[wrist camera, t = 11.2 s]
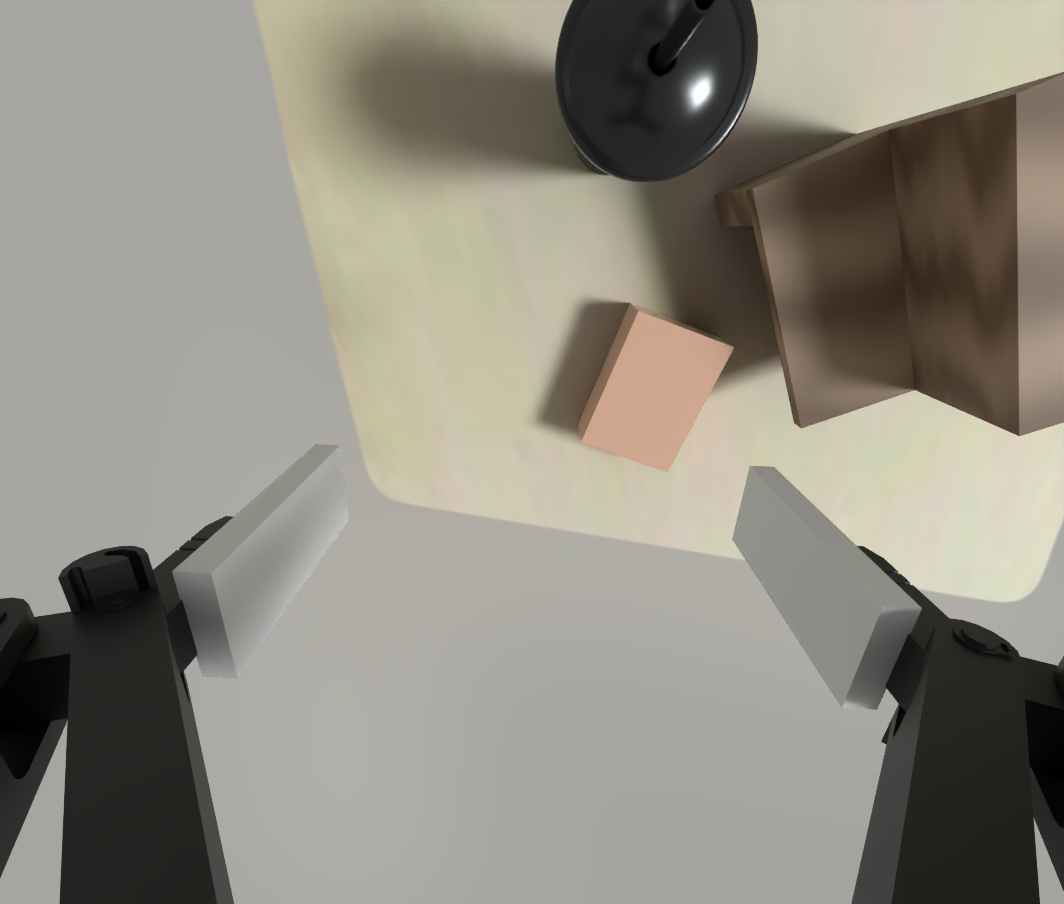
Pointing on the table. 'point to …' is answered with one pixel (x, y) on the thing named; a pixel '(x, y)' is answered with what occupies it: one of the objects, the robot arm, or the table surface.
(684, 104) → the drinking cup
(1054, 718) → the robot arm
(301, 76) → the table surface
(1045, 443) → the table surface
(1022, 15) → the table surface
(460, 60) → the table surface
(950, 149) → the desk shelf
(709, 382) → the pink rectangular block
